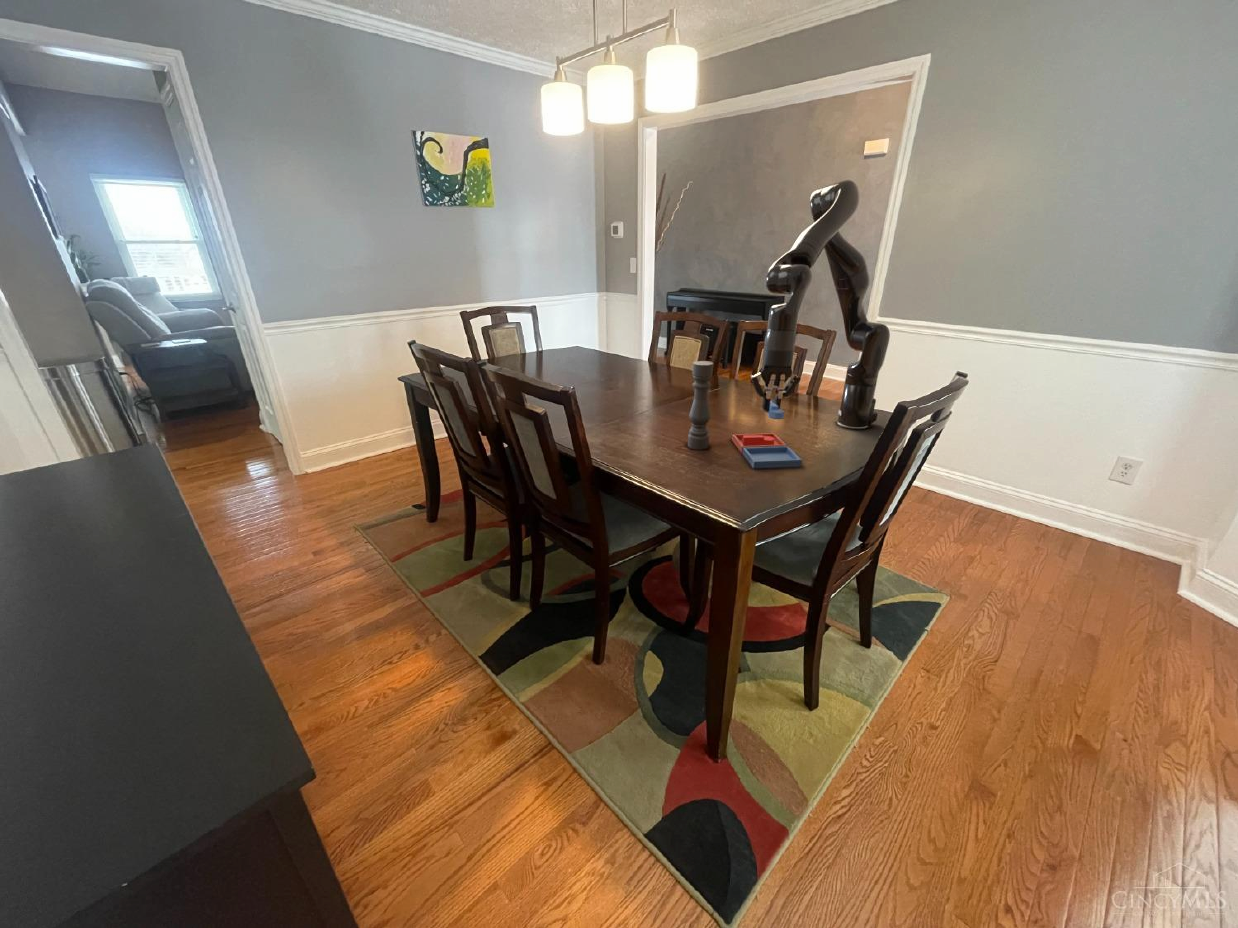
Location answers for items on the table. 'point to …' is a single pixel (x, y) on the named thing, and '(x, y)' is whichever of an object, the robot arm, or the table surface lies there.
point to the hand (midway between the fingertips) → (770, 411)
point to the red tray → (738, 442)
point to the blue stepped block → (775, 411)
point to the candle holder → (700, 405)
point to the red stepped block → (757, 440)
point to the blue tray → (771, 457)
